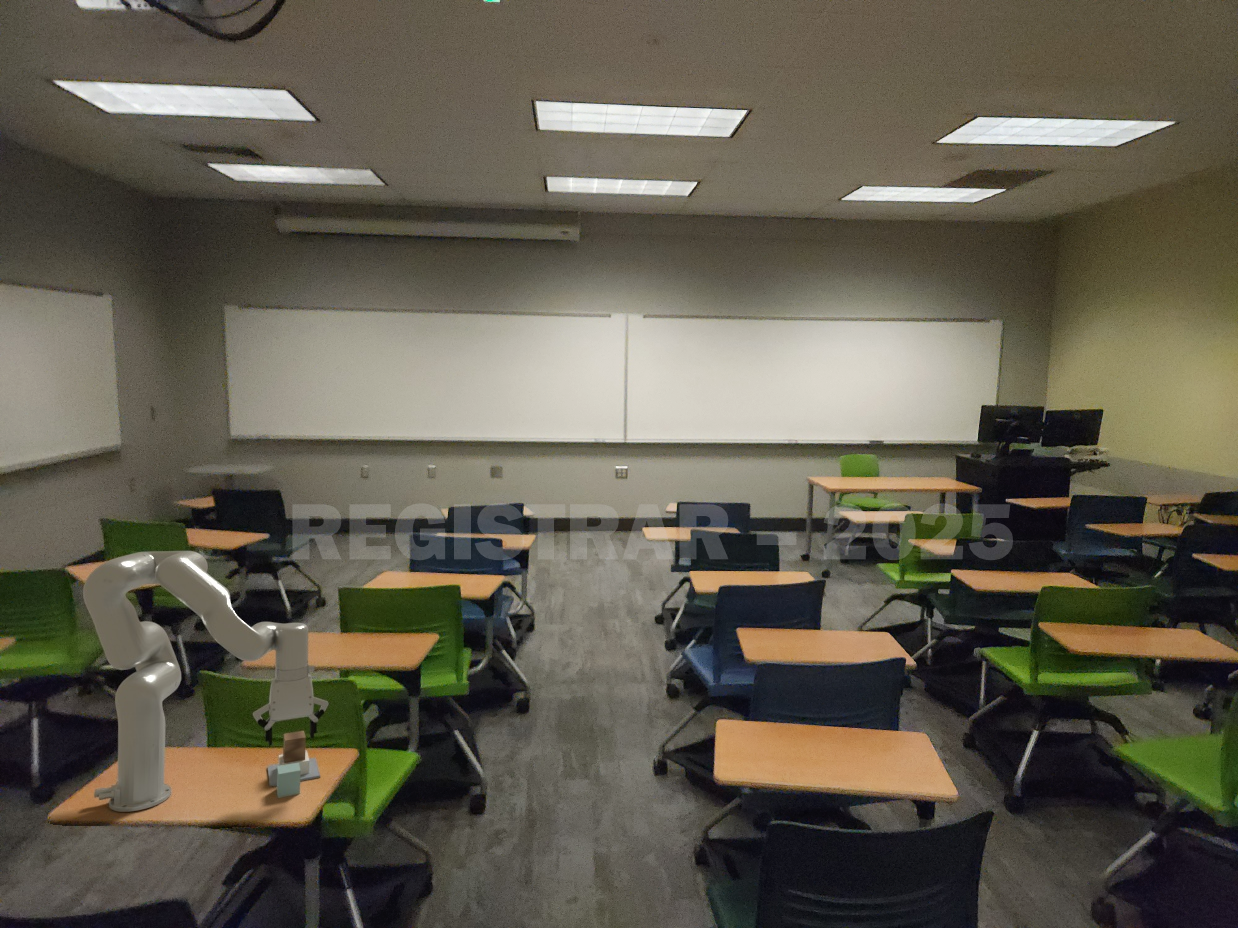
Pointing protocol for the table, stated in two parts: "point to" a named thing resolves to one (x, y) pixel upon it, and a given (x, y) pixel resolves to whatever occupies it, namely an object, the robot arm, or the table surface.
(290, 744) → the walnut block
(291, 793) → the teal block
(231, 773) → the table surface
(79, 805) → the table surface
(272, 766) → the plinth
